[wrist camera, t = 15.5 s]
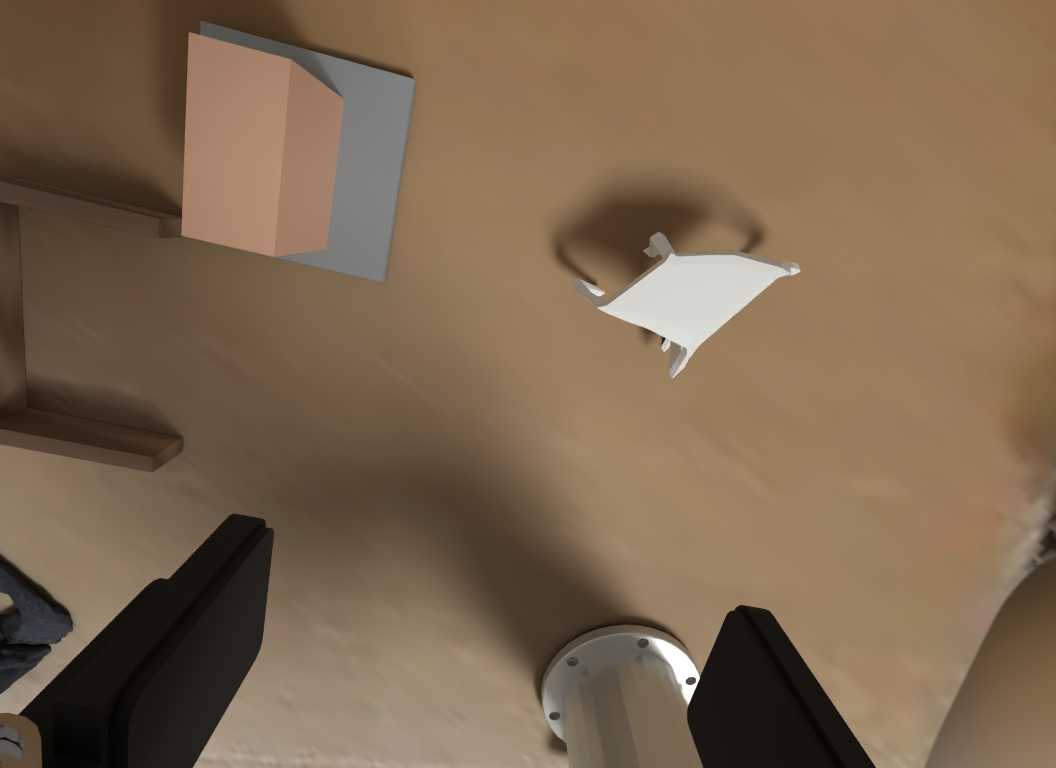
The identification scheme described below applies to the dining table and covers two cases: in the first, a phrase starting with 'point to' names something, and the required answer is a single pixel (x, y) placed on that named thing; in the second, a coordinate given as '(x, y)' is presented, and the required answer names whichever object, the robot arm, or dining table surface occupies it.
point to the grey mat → (353, 154)
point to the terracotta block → (257, 150)
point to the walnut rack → (3, 351)
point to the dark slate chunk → (26, 628)
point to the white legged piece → (688, 294)
